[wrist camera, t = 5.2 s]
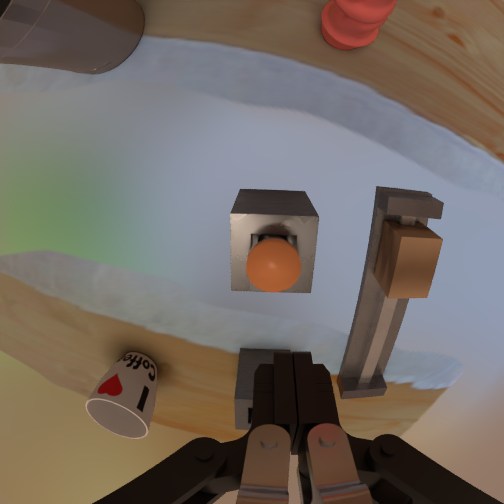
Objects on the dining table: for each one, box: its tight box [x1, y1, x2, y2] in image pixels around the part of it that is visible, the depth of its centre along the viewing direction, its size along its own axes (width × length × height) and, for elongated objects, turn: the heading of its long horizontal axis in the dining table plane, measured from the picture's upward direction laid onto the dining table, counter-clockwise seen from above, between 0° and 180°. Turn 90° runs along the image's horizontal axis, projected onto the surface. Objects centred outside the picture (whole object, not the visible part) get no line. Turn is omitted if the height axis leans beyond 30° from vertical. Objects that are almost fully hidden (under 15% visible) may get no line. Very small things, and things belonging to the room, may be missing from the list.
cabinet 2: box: [234, 348, 290, 430], centre depth 33 cm, size 6×6×8 cm
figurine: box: [321, 0, 396, 50], centre depth 14 cm, size 5×5×15 cm
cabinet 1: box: [230, 189, 319, 293], centre depth 25 cm, size 6×6×8 cm
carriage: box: [374, 220, 443, 299], centre depth 26 cm, size 6×4×4 cm
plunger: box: [246, 234, 301, 292], centre depth 22 cm, size 4×4×4 cm
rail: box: [337, 186, 444, 399], centre depth 31 cm, size 26×6×3 cm, turn 179°
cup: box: [86, 352, 157, 439], centre depth 33 cm, size 8×8×10 cm
